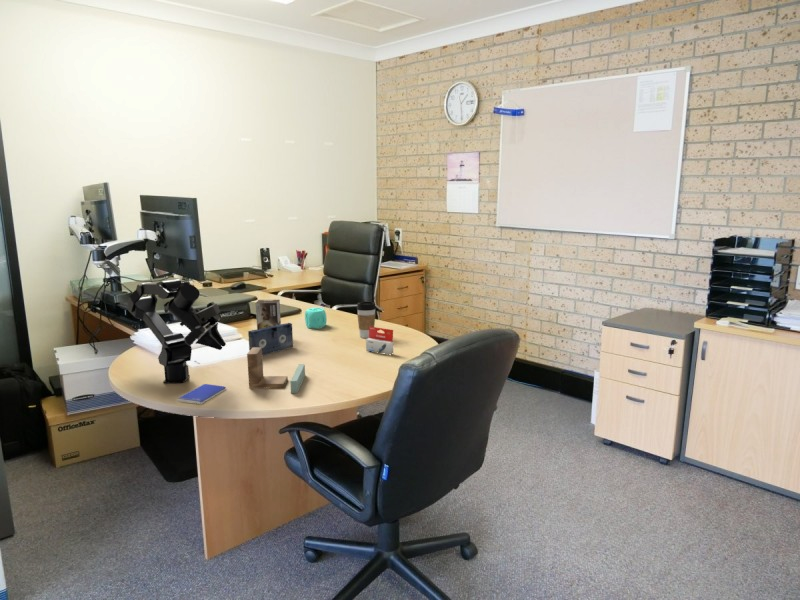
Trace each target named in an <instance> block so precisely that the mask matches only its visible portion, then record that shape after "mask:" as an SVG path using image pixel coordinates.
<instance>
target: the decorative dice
mask: <svg viewBox="0 0 800 600" xmlns="http://www.w3.org/2000/svg"><path fill="white" fill-rule="evenodd" d="M304 320H305V325H306V328H309V329H314V330H315V329H322V328H325V326H326V325H327V313H326V310H325V309H324V308H322V307H310V308H307V309H306V310H305V312H304Z"/></svg>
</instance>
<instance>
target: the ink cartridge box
mask: <svg viewBox="0 0 800 600" xmlns="http://www.w3.org/2000/svg"><path fill="white" fill-rule="evenodd" d="M379 331H382V332H379ZM365 351H372V352H378V353H385V354H392V353H393V354H394V329H389V328H383V327H377V326H376V327H375V326H374V327H370V326H369V338H365ZM372 352H371V353H372ZM378 353H377V354H378ZM393 354H392V355H393Z"/></svg>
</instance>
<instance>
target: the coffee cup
mask: <svg viewBox="0 0 800 600" xmlns="http://www.w3.org/2000/svg"><path fill="white" fill-rule="evenodd" d="M376 309H377V306H376V302H373V301H360V302H357V305H356V310H357V322H358V331H359V338H361V337H362V339H368V338H369V326H370V327H375V323H376V321H375V320H376Z"/></svg>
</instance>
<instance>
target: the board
mask: <svg viewBox="0 0 800 600" xmlns="http://www.w3.org/2000/svg"><path fill="white" fill-rule="evenodd" d="M305 365H306V364H305V363H304V364H303V363H299V364H298V365H297V367H296V368H295V371H294V373H293V375H292V377H291V379H290V381H289V382H290V393H291V394H298V393H299V391H300V388H301V386H302V384H303V381H304V379H305V377H306V366H305ZM301 383H302V384H301ZM297 392H298V393H297Z"/></svg>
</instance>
